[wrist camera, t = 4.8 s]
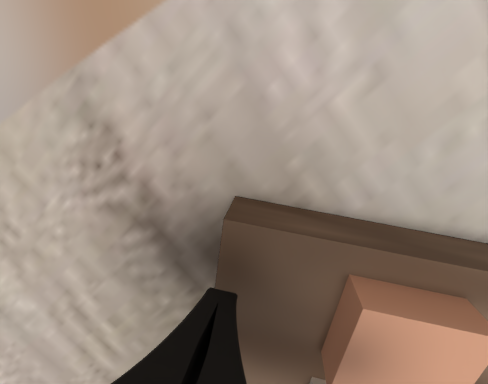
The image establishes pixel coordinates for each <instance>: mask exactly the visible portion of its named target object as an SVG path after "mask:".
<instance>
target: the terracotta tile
mask: <svg viewBox="0 0 488 384" xmlns="http://www.w3.org/2000/svg"><path fill="white" fill-rule="evenodd" d="M321 354H322V360H323V367H324V373H325V379H326V384H475V382H476V381H477V379H478V378H479V377H480V375H481V374H482V373H483V371H484V370H485V368H486V367H487V366H488V321H487V320H486V319H485V318H484V317H483V316H482V315H481V314H480V313H479V312H478V310H477V309H476V308H475V307H474V306H473V305H472V304H471V303H470V302H469V301H468V300H467V299H465V298H460V297H456V296H451V295H446V294H441V293H436V292H432V291H427V290H422V289H417V288H412V287H408V286H403V285H398V284H393V283H388V282H383V281H379V280H374V279H369V278H364V277H359V276H355V275H350V274H349V276H348V279H347V282H346V284H345V287H344V290H343V293H342V295H341V298H340V301H339V304H338V306H337V309H336V312H335V315H334V317H333V320H332V323H331V326H330V328H329V331H328V334H327V337H326V339H325V342H324V345H323V348H322V350H321Z"/></svg>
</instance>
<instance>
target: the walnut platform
mask: <svg viewBox="0 0 488 384" xmlns="http://www.w3.org/2000/svg"><path fill="white" fill-rule="evenodd" d="M349 274H350V275H355V276H359V277H364V278H369V279H374V280H379V281H383V282H388V283H393V284H398V285H403V286H408V287H412V288H417V289H422V290H427V291H432V292H436V293H441V294H446V295H451V296H456V297H460V298H465V299H467V300H468V301H469V302H470V303H471V304H472V305H473V306H474V307H475V308H476V309H477V310H478V312H479V313H480V314H481V315H482V316H483V317H484V318H485V319H486V320H487V321H488V244H485V243H480V242H475V241H469V240H464V239H459V238H454V237H448V236H443V235H438V234H432V233H427V232H422V231H417V230H411V229H406V228H401V227H395V226H390V225H385V224H379V223H374V222H369V221H364V220H358V219H353V218H348V217H342V216H337V215H332V214H326V213H321V212H316V211H311V210H305V209H300V208H295V207H289V206H284V205H279V204H273V203H268V202H263V201H258V200H252V199H247V198H242V197H236V196H235V198H234V200H233V202H232V204H231V206H230V208H229V210H228V212H227V214H226V216H225V218H224V221H223V228H222V236H221V244H220V252H219V260H218V267H217V275H216V283H215V289H219V290H224V291H228V292H233V293H236V294H237V295H238V297H237V305H236V317H237V330H238V340H239V347H240V353H241V359H242V364H243V369H244V374H245V378H246V382H247V384H309V383H310V381H311V378H312V377H314V378H319V379H323V380H326V379H325V373H324V367H323V360H322V354H321V350H322V348H323V345H324V342H325V339H326V337H327V334H328V331H329V328H330V326H331V323H332V320H333V317H334V315H335V312H336V309H337V306H338V304H339V301H340V298H341V295H342V293H343V290H344V287H345V284H346V282H347V279H348V276H349ZM475 384H488V366H487V367H486V368H485V370H484V371H483V373H482V374H481V375H480V377H479V378H478V379H477V381H476V382H475Z"/></svg>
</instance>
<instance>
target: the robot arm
mask: <svg viewBox="0 0 488 384" xmlns="http://www.w3.org/2000/svg"><path fill="white" fill-rule="evenodd" d="M237 297H238V295H237V294H236V293H233V292H228V291H224V290H219V289H215V288H209V289H208V290H207V291H206V293H205V294H204V295H203V297H202V298H201V300H200V301H199V302H198V303H197V305H196V306H195V307H194V308H193V310H192V311H191V312H190V313H189V314H188V315H187V316H186V318H185V319H184V320H183V321H182V322H181V323H180V324H179V325H178V326H177V327H176V328H175V329H174V330H173V331H172V332H171V333H170V334H169V336H168V337H167V338H166V339H164V340H163V341H162V342H161V343H160V344H159V345H158V346H157V347H156V348H155V349H154V350H153V351H151V352H150V353H149V354H148V355H147V356H146V357H145V358H143V359H142V360H141V361H140V362H139V363H137V364H136V365H135V366H134V367H132V368H131V369H130V370H129V371H127V372H126V373H125V374H124V375H122V376H121V377H120V378H118V379H117V380H115V381H114V382H113V383H111V384H247V382H246V378H245V374H244V369H243V364H242V359H241V353H240V347H239V340H238V330H237V317H236V305H237Z"/></svg>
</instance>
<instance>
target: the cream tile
mask: <svg viewBox="0 0 488 384" xmlns="http://www.w3.org/2000/svg"><path fill="white" fill-rule="evenodd" d="M309 384H326V380H323V379H319V378H314V377H312V378H311V381H310V383H309Z"/></svg>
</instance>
